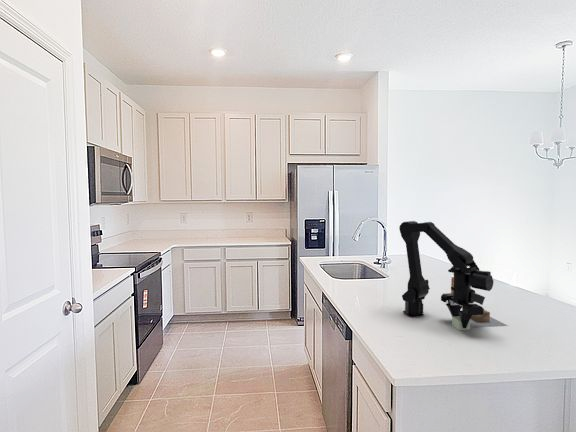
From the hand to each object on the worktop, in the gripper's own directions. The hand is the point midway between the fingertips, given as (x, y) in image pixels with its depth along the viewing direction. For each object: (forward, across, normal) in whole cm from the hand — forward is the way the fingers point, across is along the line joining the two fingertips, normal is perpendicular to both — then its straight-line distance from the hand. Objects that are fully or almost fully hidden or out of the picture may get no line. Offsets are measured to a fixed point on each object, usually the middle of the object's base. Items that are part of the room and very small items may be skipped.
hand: (460, 325), depth 140 cm
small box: (+1, +28, -18) cm, 33 cm away
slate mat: (+1, +6, -12) cm, 13 cm away
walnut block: (+1, +6, -12) cm, 13 cm away
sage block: (+1, 0, 0) cm, 1 cm away
